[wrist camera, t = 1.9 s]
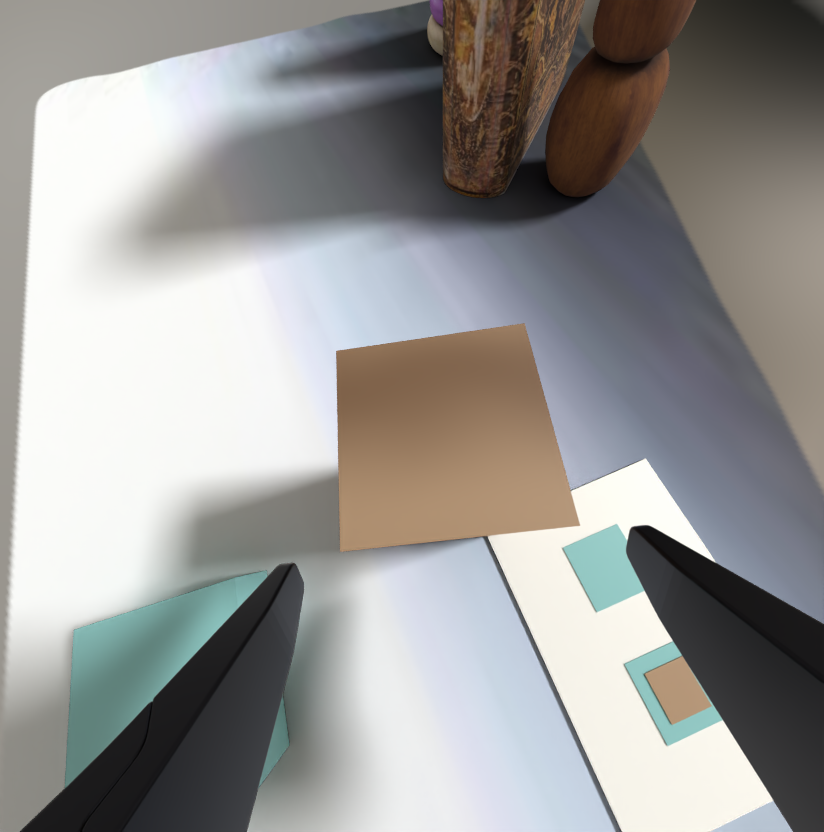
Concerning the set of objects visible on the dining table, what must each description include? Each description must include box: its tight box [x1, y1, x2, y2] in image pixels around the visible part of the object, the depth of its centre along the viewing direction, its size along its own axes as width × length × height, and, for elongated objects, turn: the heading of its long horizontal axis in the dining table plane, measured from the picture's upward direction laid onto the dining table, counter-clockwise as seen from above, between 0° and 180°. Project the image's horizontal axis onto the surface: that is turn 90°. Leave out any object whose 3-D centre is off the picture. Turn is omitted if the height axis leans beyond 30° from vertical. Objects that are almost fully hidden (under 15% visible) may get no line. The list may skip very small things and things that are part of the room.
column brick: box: [336, 323, 580, 552], centre depth 13 cm, size 5×5×12 cm
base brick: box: [65, 570, 289, 788], centre depth 16 cm, size 8×8×3 cm
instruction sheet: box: [487, 459, 773, 832], centre depth 16 cm, size 14×10×1 cm
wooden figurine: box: [545, 0, 696, 197], centre depth 19 cm, size 7×6×15 cm
